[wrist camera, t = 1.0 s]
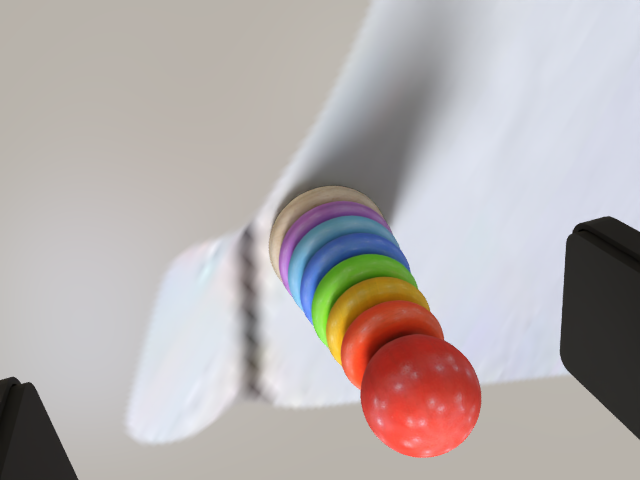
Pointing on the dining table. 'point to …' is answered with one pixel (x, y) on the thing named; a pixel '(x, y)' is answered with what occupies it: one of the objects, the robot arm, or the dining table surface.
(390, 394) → the stacking toy
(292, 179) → the dining table surface
